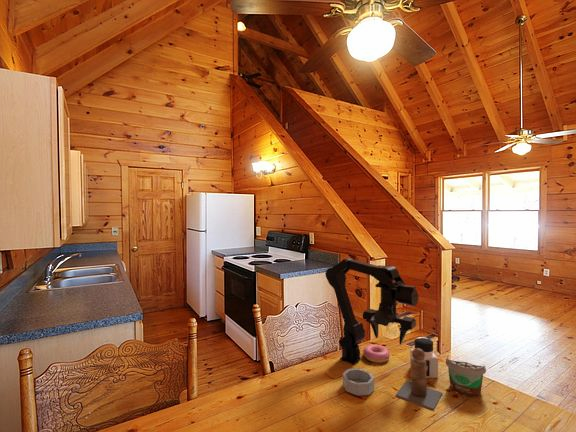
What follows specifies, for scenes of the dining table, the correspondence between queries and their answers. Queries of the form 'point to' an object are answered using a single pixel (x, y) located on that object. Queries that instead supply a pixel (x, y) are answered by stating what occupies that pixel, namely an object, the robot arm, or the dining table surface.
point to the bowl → (358, 381)
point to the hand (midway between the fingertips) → (388, 341)
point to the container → (427, 356)
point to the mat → (427, 401)
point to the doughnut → (376, 353)
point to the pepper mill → (418, 373)
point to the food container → (465, 377)
